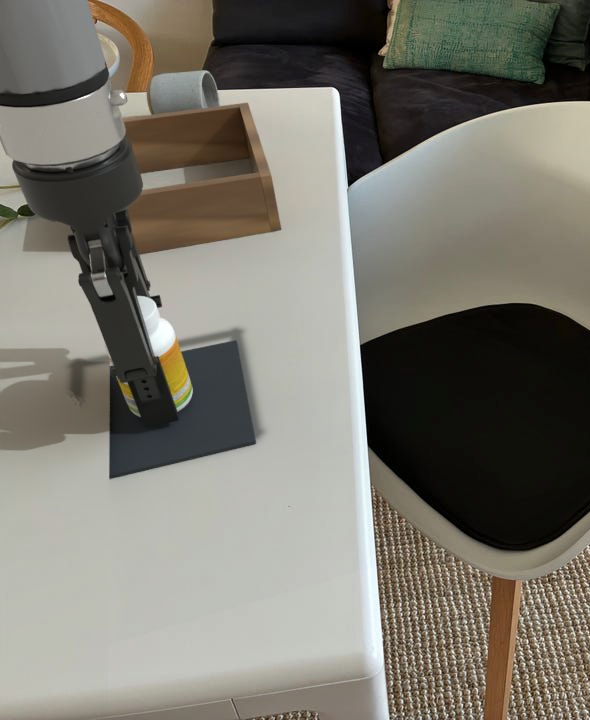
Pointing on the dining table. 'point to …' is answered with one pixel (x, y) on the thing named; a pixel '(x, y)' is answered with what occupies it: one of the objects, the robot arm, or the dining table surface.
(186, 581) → the dining table surface
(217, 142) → the wooden box
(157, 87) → the ceramic mug
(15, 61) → the robot arm
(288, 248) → the dining table surface
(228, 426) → the slate mat
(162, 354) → the supplement bottle
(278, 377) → the dining table surface
